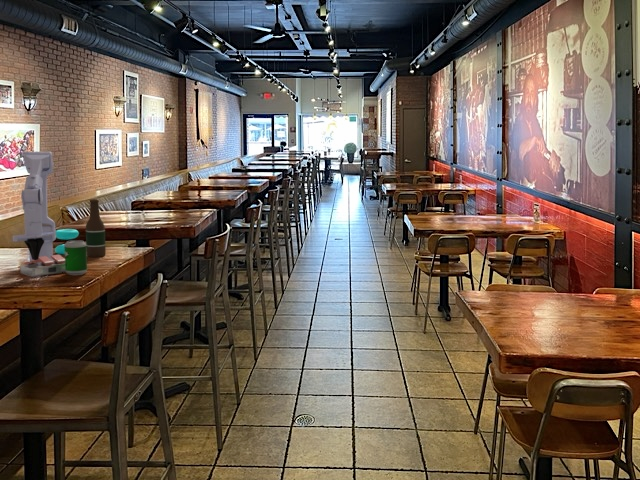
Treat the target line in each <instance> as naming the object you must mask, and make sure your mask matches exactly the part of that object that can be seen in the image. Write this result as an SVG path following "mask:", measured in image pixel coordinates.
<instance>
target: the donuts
mask: <svg viewBox="0 0 640 480" xmlns="http://www.w3.org/2000/svg"><path fill="white" fill-rule="evenodd" d="M79 234H80V232H79V231H78V230H77V229H72V228H65V229H64V228H63V229H56V239H59V240H73V239H76V238H77V237H79ZM64 244H65V243H64ZM64 244H60V245H59V244H58V245H57V246H56V247H55V248H54V252H55V253H56V255H65V247H64Z"/></svg>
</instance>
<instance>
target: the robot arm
mask: <svg viewBox="0 0 640 480" xmlns="http://www.w3.org/2000/svg"><path fill="white" fill-rule="evenodd" d="M23 162H24V163H23V165H24V166H25V169H26V171H27V174H29V175H27V176H26V177H25V182H24V188H23V189H21V192H20V193H21V197H20V198H21V202H22V209H23V216H24V217H23V218H24V233H23V234H18V235H16V234H15V235H12V242H15V243H17V242H24V244H25V246H26V247H27V249H28V254H29V255H28V257H29V261H32V260H38V258H39V257H43V256H47V257H48V258H49V259H51V260H52V261H54V260H53V259H52V258H51V255H54V253H53V252H54V248H53V247H54V246H53V242H54V241H55V240H56V239H57V238H56V231H57V229H56V222H55V220H53V219H52V218H50V217H49V216H48V215H49V214H48V178H49V175H51V174H53V171H54V156H53V152H51V151H50V150H49V151H27V150H25V151H24V154H23ZM38 263H42V262H38Z"/></svg>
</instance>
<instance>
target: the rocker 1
mask: <svg viewBox="0 0 640 480" xmlns="http://www.w3.org/2000/svg"><path fill="white" fill-rule="evenodd" d="M38 262H41V261H40V260H32V261H30V260H28V261H26V262H24V265H27V264H34V263H38Z"/></svg>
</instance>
